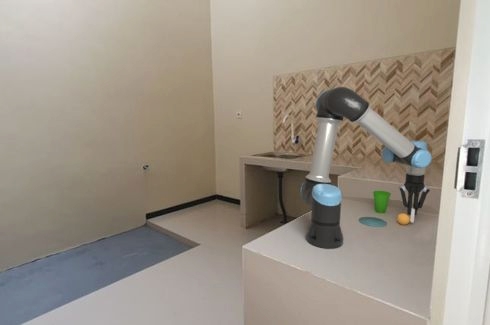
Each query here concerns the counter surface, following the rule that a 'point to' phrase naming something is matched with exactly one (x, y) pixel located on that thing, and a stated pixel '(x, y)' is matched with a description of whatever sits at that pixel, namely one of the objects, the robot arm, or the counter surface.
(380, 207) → the green tapered cylinder
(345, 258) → the counter surface
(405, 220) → the ball
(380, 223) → the teal ellipsoid
